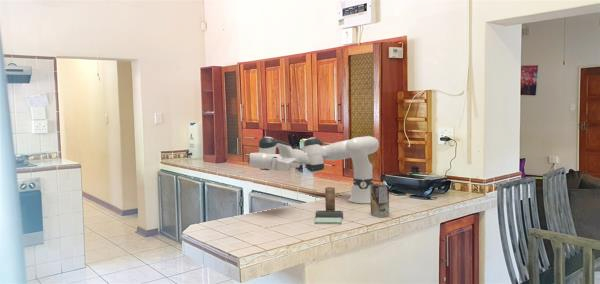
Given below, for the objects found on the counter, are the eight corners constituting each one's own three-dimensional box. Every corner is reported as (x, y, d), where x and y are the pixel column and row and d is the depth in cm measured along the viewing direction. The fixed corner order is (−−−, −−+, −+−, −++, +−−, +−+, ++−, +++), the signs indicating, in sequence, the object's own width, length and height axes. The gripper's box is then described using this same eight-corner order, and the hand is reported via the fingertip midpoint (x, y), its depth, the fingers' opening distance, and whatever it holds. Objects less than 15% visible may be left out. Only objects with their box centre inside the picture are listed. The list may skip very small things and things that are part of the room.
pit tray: (316, 216, 242) (316, 210, 242) (343, 216, 241) (343, 210, 240) (315, 218, 237) (315, 212, 237) (342, 218, 236) (342, 212, 235)
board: (316, 219, 235) (316, 217, 235) (341, 219, 234) (341, 217, 234) (314, 223, 226) (314, 221, 226) (341, 224, 225) (341, 222, 225)
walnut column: (326, 212, 250) (325, 187, 249) (335, 212, 249) (334, 187, 248) (325, 214, 245) (324, 188, 244) (334, 215, 244) (334, 188, 243)
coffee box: (389, 216, 239) (389, 185, 237) (378, 217, 236) (378, 186, 235) (380, 212, 247) (380, 183, 246) (370, 214, 245) (369, 184, 244)
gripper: (280, 165, 262) (304, 167, 259) (271, 170, 242) (296, 173, 240) (281, 154, 262) (305, 156, 259) (272, 158, 242) (297, 161, 239)
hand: (301, 164), depth 249 cm, fingers open, 8 cm apart
